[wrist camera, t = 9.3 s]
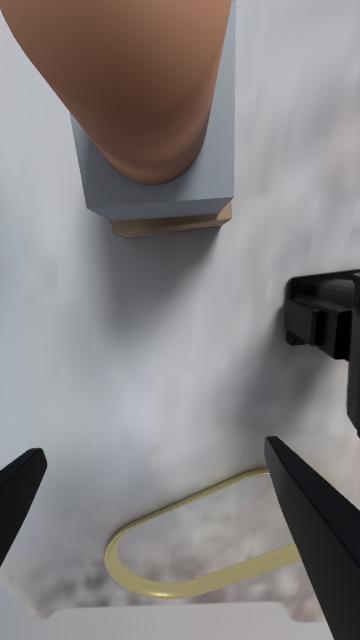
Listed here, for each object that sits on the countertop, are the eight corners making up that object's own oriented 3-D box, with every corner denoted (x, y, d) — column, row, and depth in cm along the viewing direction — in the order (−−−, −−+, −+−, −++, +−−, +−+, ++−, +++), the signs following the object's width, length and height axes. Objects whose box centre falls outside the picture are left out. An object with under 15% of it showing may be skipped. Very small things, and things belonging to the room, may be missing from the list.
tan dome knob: (202, 27, 8) (233, -327, 3) (212, 176, 9) (245, 91, 5) (77, 50, 8) (-74, -246, 3) (106, 192, 10) (30, 127, 5)
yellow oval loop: (81, 536, 30) (76, 551, 29) (304, 436, 24) (312, 448, 23) (155, 595, 35) (153, 611, 33) (356, 523, 29) (366, 538, 27)
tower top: (217, 74, 11) (235, -19, 7) (218, 213, 13) (233, 196, 10) (93, 85, 11) (49, 0, 8) (113, 221, 14) (86, 208, 10)
